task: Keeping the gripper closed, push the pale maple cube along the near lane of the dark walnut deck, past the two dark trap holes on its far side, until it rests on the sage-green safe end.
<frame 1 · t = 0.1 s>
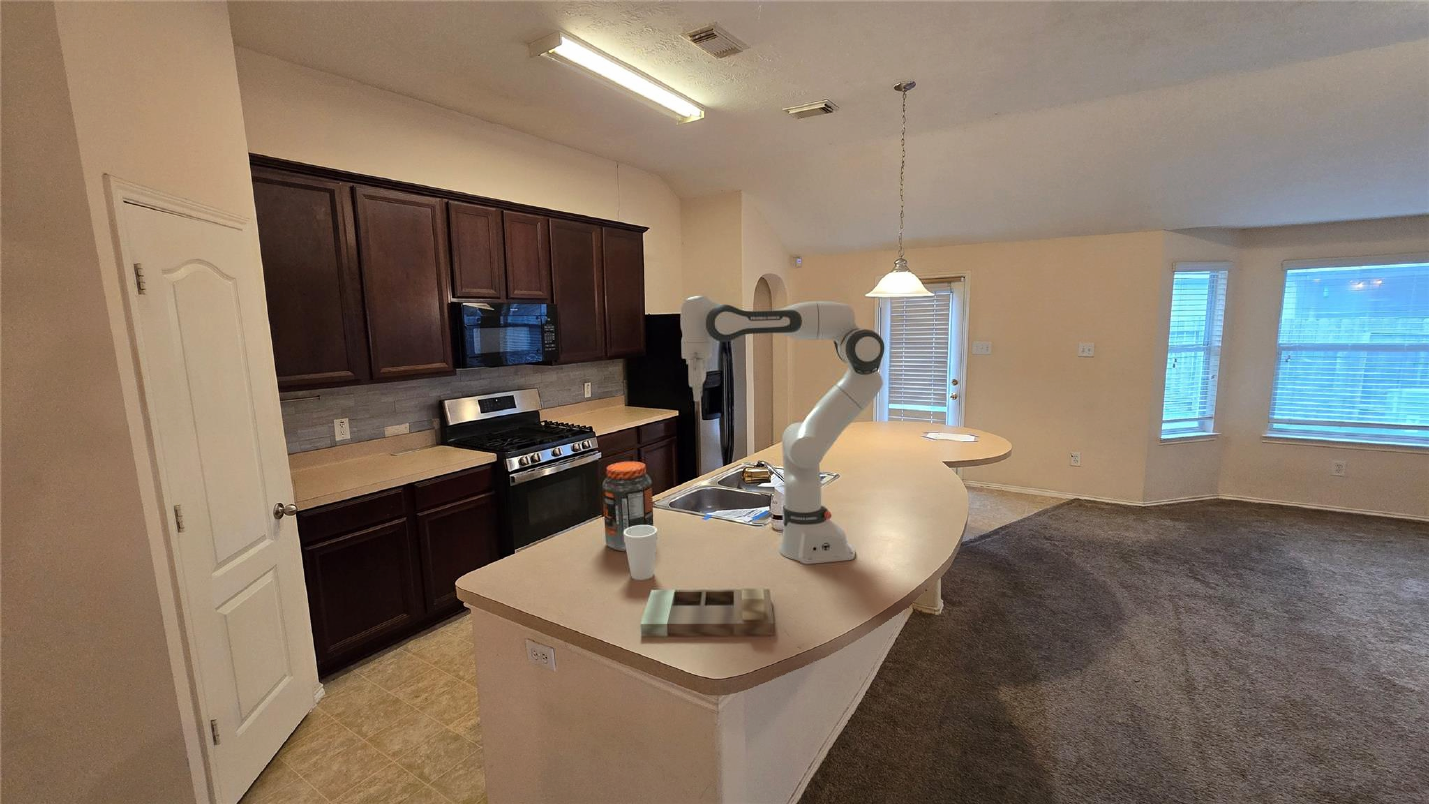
hand: (698, 398, 162), 48 cm above the table, tool pointing down, fingers open, 8 cm apart
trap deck: (709, 617, 131), on the table
supplement tub: (630, 543, 177), on the table
maple block: (753, 614, 126), point 3 cm above the table, touching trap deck
foam cup: (642, 575, 154), on the table
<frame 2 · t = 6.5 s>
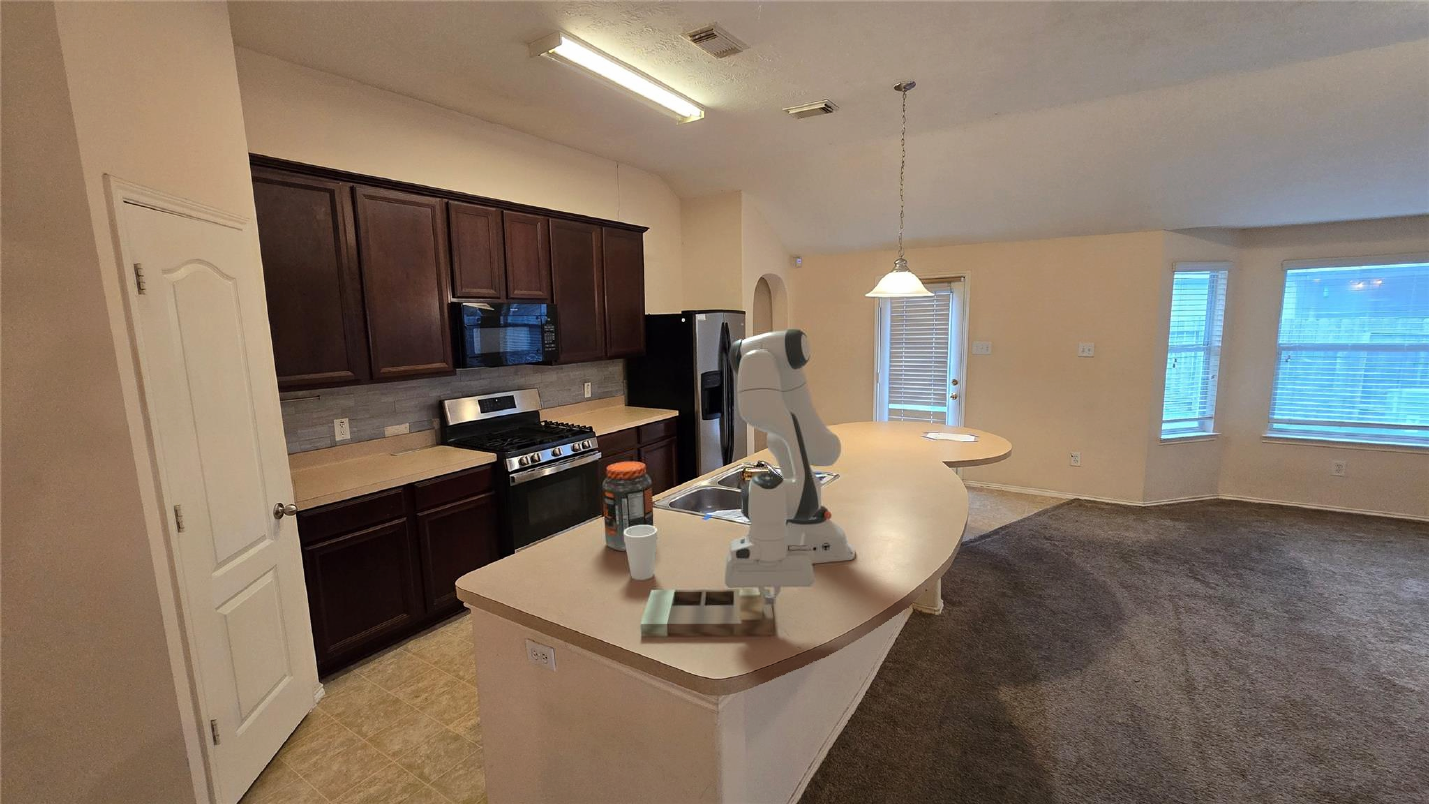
hand: (769, 603, 125), 6 cm above the table, tool pointing down, fingers closed
maple block: (751, 614, 126), point 3 cm above the table, touching gripper, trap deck
everything else where it was.
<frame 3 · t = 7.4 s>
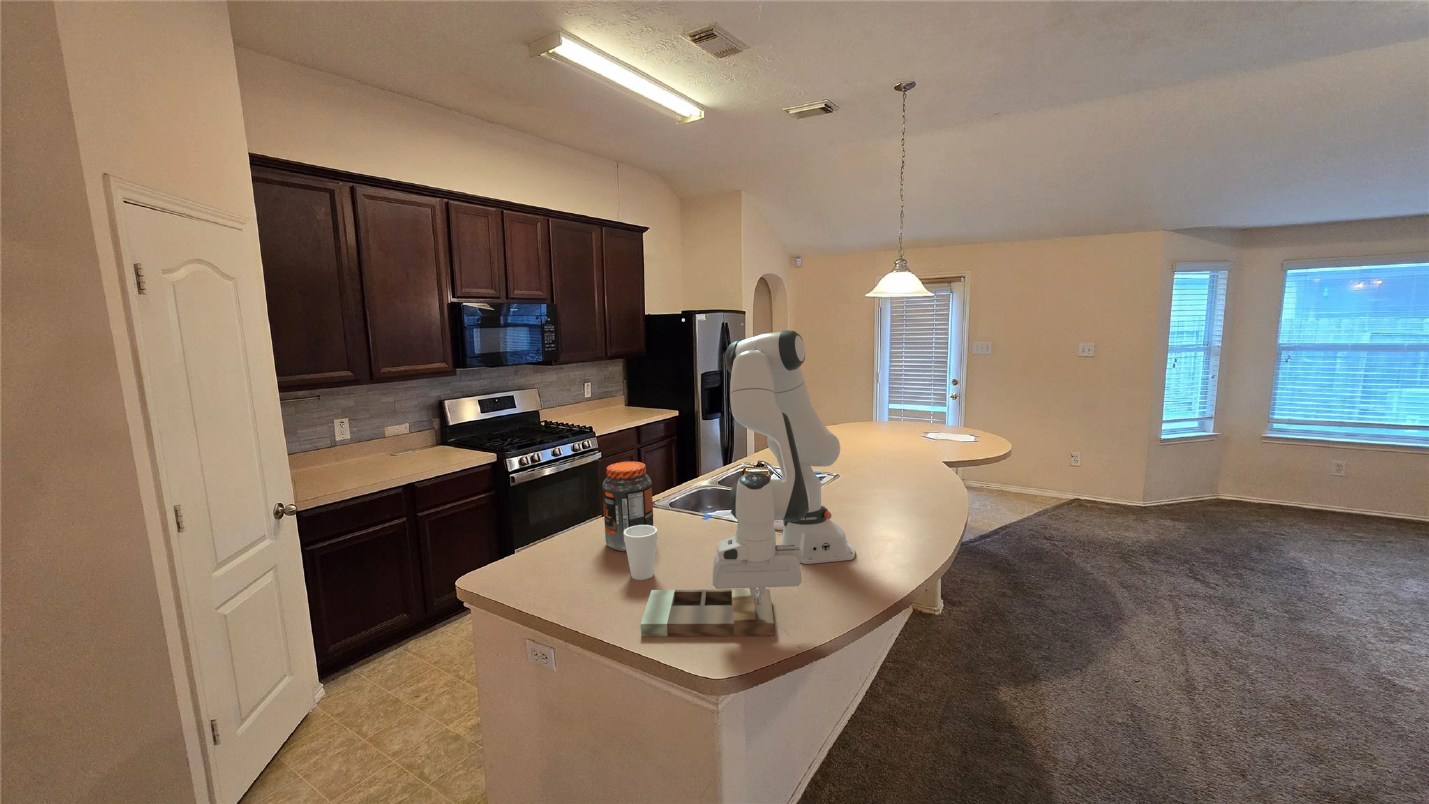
hand: (757, 603, 125), 6 cm above the table, tool pointing down, fingers closed, pressing on maple block
maple block: (744, 614, 126), point 3 cm above the table, touching gripper, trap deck
everything else where it was.
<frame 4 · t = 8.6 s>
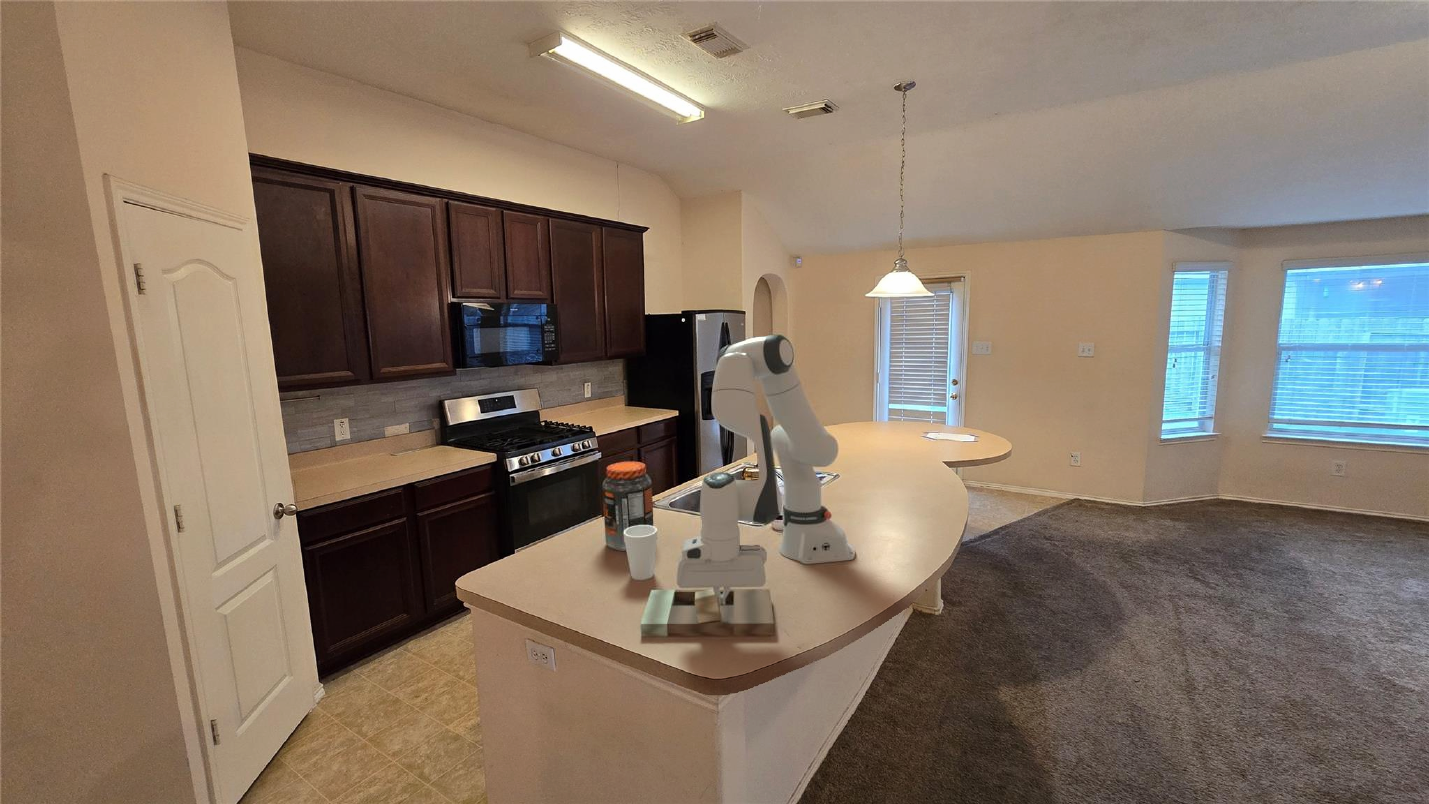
hand: (721, 603, 125), 6 cm above the table, tool pointing down, fingers closed, pressing on maple block
maple block: (709, 615, 125), point 3 cm above the table, tilted 8°, touching gripper, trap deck
everything else where it was.
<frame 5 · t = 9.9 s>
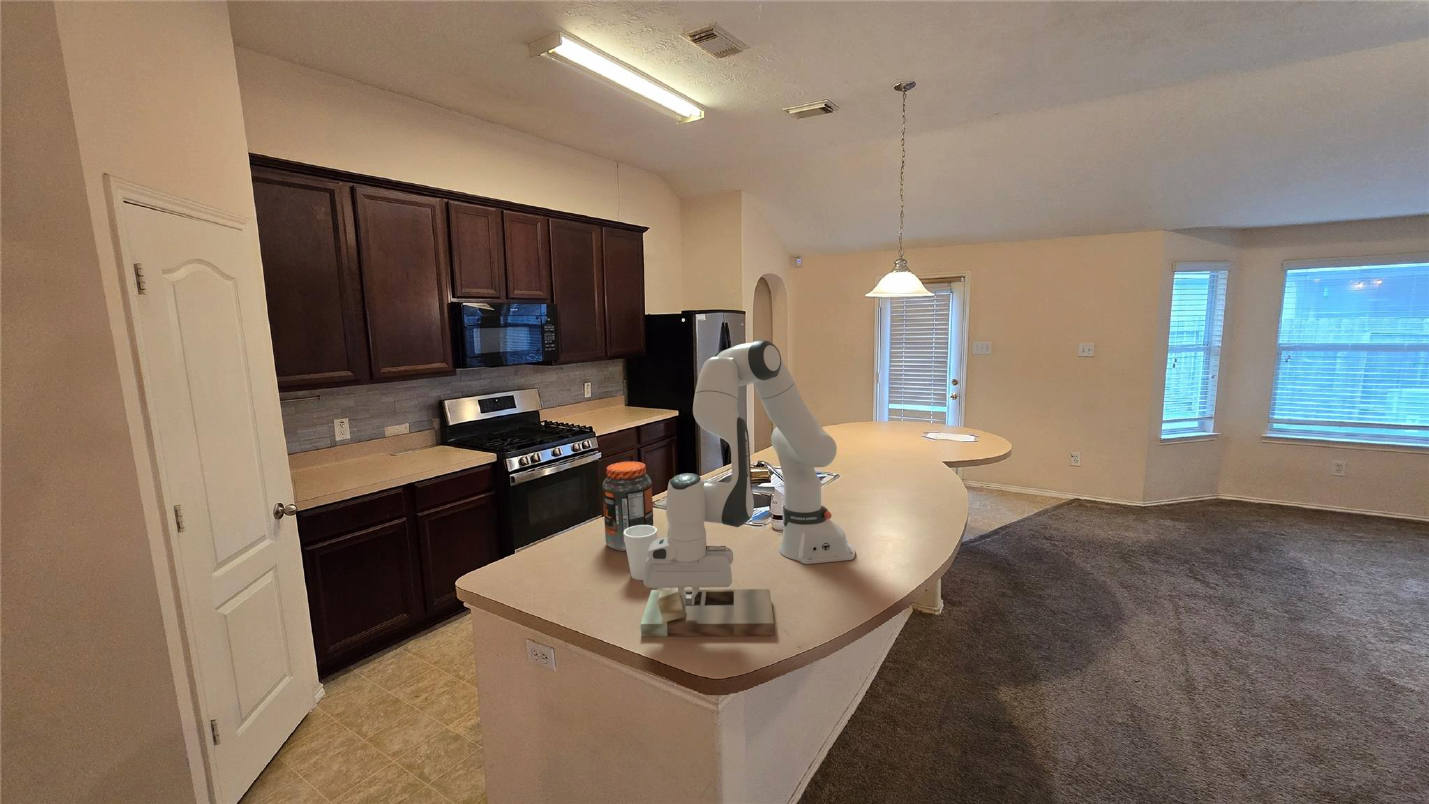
hand: (688, 603, 126), 6 cm above the table, tool pointing down, fingers closed
maple block: (675, 614, 126), point 4 cm above the table, tilted 14°, touching gripper, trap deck
everything else where it was.
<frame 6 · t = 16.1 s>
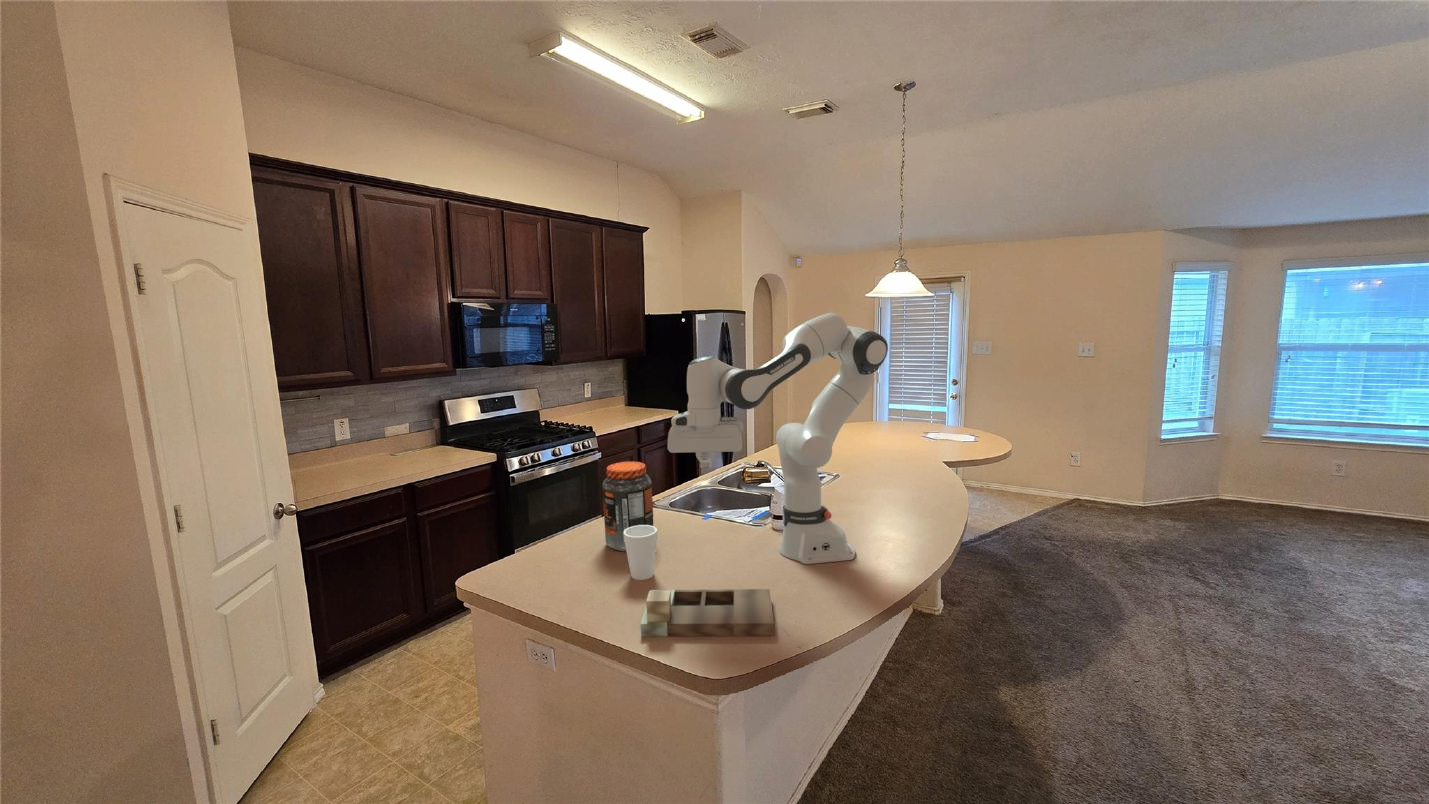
hand: (705, 467, 148), 31 cm above the table, tool pointing down, fingers closed
maple block: (659, 616, 126), point 3 cm above the table, touching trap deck
everything else where it was.
at the end: maple block 1.3 cm from the target spot on the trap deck, point 3.0 cm above the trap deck's base; maple block tilted 0°; the gripper is holding nothing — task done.
